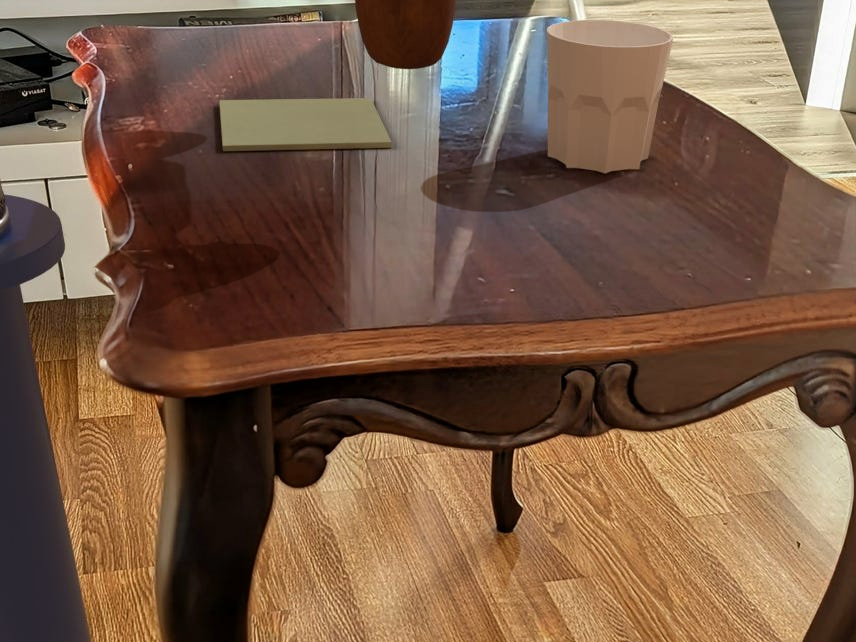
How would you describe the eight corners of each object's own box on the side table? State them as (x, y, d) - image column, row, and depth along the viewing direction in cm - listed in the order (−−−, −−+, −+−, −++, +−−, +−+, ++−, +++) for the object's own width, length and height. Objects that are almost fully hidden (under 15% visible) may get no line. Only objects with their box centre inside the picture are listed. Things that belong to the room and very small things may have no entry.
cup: (680, 169, 95) (697, 42, 90) (575, 181, 92) (586, 50, 86) (617, 135, 103) (630, 17, 97) (518, 146, 99) (525, 23, 93)
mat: (222, 151, 95) (222, 145, 94) (219, 105, 106) (219, 99, 106) (391, 147, 97) (391, 141, 97) (371, 103, 108) (370, 97, 108)
